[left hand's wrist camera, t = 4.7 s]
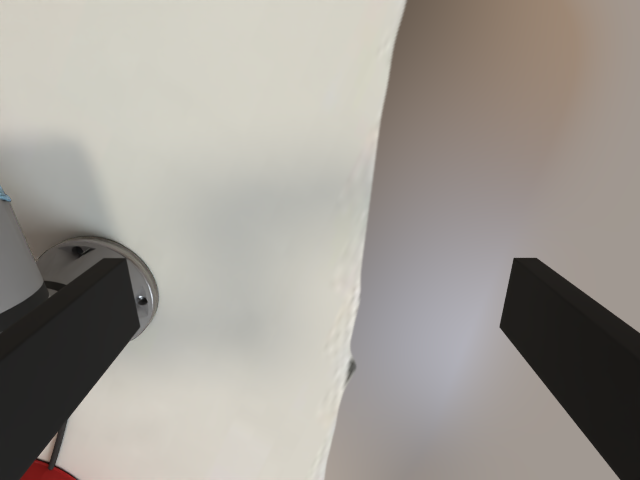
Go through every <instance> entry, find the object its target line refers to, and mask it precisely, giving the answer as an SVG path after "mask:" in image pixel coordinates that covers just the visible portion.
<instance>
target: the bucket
mask: <svg viewBox="0 0 640 480" xmlns="http://www.w3.org/2000/svg"><path fill="white" fill-rule="evenodd" d="M48 466H49V464H48V463H45V462H42V461H39V460H35V461H34V462H33V463H32V465H31V466H30V467H29V469H28V470H27V471H26V472H25V474H24V475H23V476H22V477H21V479H20V480H76V479H75V478H73V477H72V476H70V475H69V474H67V473H66V472H64V471H62V470H60V469H59V468H57V467H54V468H53V469H52V470H49V469H48Z"/></svg>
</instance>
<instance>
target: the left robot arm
mask: <svg viewBox="0 0 640 480" xmlns="http://www.w3.org/2000/svg"><path fill="white" fill-rule="evenodd" d="M10 202H11V199H10V197H9V196H8V195H6V194H5V193H4V191H3V189H2V187H1V185H0V480H20V479H21V477H22V476H23V475H24V474H25V472H26V471H27V470H28V469H29V467H30V466H31V465H32V463H33V462H34V461H35V460H36V458H37V457H38V456H39V455H40V453H41V452H42V451H43V450H44V448H45V447H46V446H47V445H48V443H49V442H50V441H51V439H52V438H53V437H54V436H55V434H56V433H57V432H58V434H57V438H56V442H55V446H54V449H53V453H52V456H51V460H50V463H49V466H48V469H49V470H52V469H53V468H54V466H55V463H56V460H57V456H58V453H59V450H60V446H61V443H62V439H63V435H64V431H65V427H66V423H67V419H68V418H69V417H70V415H71V414H72V413H73V412H74V410H75V409H76V408H77V407H78V405H79V404H80V403H81V402H82V400H83V399H84V398H85V397H86V395H87V394H88V393H89V391H90V390H91V389H92V388H93V386H94V385H95V384H96V383H97V381H98V380H99V379H100V378H101V376H102V375H103V374H104V373H105V371H106V370H107V369H108V367H109V366H110V365H111V364H112V362H113V361H114V360H115V359H116V357H117V356H118V355H119V354H120V352H121V351H122V350H123V349H124V347H125V346H126V345H127V343H128V342H129V341H131V340H133V339H135V338H136V337H137V336H139V335H140V334H141V333H142V332H143V331H144V330H145V328H146V327H147V326H148V325H149V323H150V322H151V320H152V319H153V317H154V315H155V313H156V311H157V307H158V289H157V285H156V282H155V280H154V277H153V275H152V274H151V272H150V270H149V269H148V267H147V266H146V265H145V264H144V262H143V261H142V260H141V259H140V258H139V257H138V256H137V255H135V254H134V253H133V252H132V251H130V250H129V249H127V248H126V247H124V246H122V245H120V244H118V243H116V242H113V241H110V240H107V239H104V238H99V237H90V236H85V237H75V238H71V239H68V240H65V241H63V242H61V243H59V244H57V245H56V246H54V247H52V248H50V249H49V250H47V251H46V252H45V253H43V254H42V255H41V256H40V258H39V259H38V260H37V262H35V260H34V257H33V255H32V253H31V251H30V248H29V246H28V244H27V241H26V239H25V237H24V234H23V232H22V230H21V227H20V225H19V223H18V220H17V218H16V216H15V214H14V211H13V209H12V207H11V204H10ZM500 328H501V330H502V331H503V332H504V333H505V335H506V336H507V337H508V338H509V340H510V341H511V342H512V343H513V345H514V346H515V347H516V348H517V350H518V351H519V352H520V354H521V355H522V356H523V357H524V359H525V360H526V361H527V362H528V364H529V365H530V366H531V367H532V369H533V370H534V371H535V372H536V374H537V375H538V376H539V378H540V379H541V380H542V381H543V383H544V384H545V385H546V386H547V388H548V389H549V390H550V391H551V393H552V394H553V395H554V396H555V398H556V399H557V400H558V402H559V403H560V404H561V405H562V407H563V408H564V409H565V410H566V412H567V413H568V414H569V415H570V417H571V418H572V419H573V421H574V422H575V423H576V424H577V426H578V427H579V428H580V429H581V431H582V432H583V433H584V434H585V436H586V437H587V438H588V439H589V441H590V442H591V443H592V444H593V446H594V447H595V448H596V450H597V451H598V452H599V453H600V455H601V456H602V457H603V458H604V460H605V461H606V462H607V463H608V465H609V466H610V467H611V469H612V470H613V471H614V472H615V474H616V475H617V476H618V477H619V479H620V480H640V333H639V332H637V331H636V330H635V329H633V328H632V327H631V326H629V325H628V324H626V323H625V322H624V321H622V320H621V319H620V318H618V317H617V316H615V315H614V314H613V313H611V312H610V311H609V310H607V309H606V308H604V307H603V306H602V305H600V304H599V303H598V302H596V301H595V300H593V299H592V298H591V297H589V296H588V295H587V294H585V293H584V292H582V291H581V290H580V289H578V288H577V287H576V286H574V285H573V284H571V283H570V282H569V281H567V280H566V279H565V278H563V277H562V276H560V275H559V274H558V273H556V272H555V271H554V270H552V269H551V268H550V267H548V266H547V265H545V264H544V263H543V262H541V261H540V260H539V259H537V258H514V259H513V264H512V269H511V274H510V279H509V284H508V288H507V293H506V298H505V303H504V308H503V313H502V317H501V322H500Z"/></svg>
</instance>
